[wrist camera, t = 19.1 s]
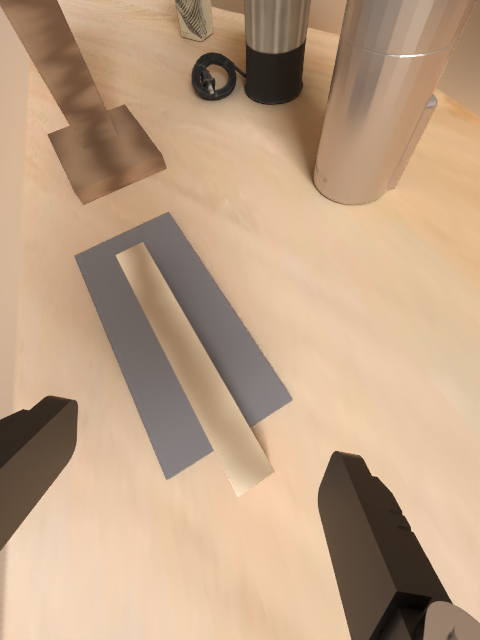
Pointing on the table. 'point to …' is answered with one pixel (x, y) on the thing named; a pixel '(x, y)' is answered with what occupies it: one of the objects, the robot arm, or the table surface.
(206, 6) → the box
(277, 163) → the table surface
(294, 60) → the milk frother
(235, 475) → the birch bar
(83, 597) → the table surface
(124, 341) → the charcoal mat
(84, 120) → the walnut pedestal
